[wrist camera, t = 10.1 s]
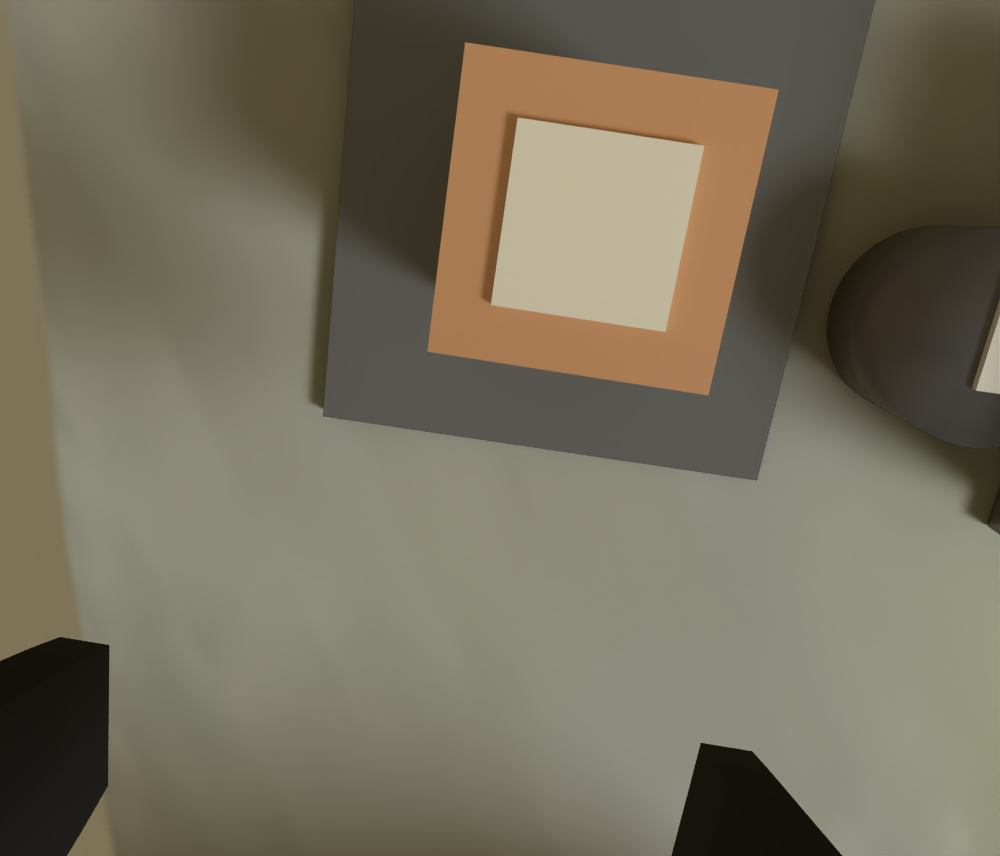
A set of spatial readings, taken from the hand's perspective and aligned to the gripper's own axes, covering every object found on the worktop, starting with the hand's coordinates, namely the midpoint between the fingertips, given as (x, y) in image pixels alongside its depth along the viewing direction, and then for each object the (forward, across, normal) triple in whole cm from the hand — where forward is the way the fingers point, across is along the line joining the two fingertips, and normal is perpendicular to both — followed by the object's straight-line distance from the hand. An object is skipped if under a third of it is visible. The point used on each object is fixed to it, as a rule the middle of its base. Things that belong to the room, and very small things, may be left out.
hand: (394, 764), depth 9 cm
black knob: (+9, -9, -6) cm, 14 cm away
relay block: (+9, -1, -6) cm, 11 cm away
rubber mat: (+9, -1, -7) cm, 11 cm away
